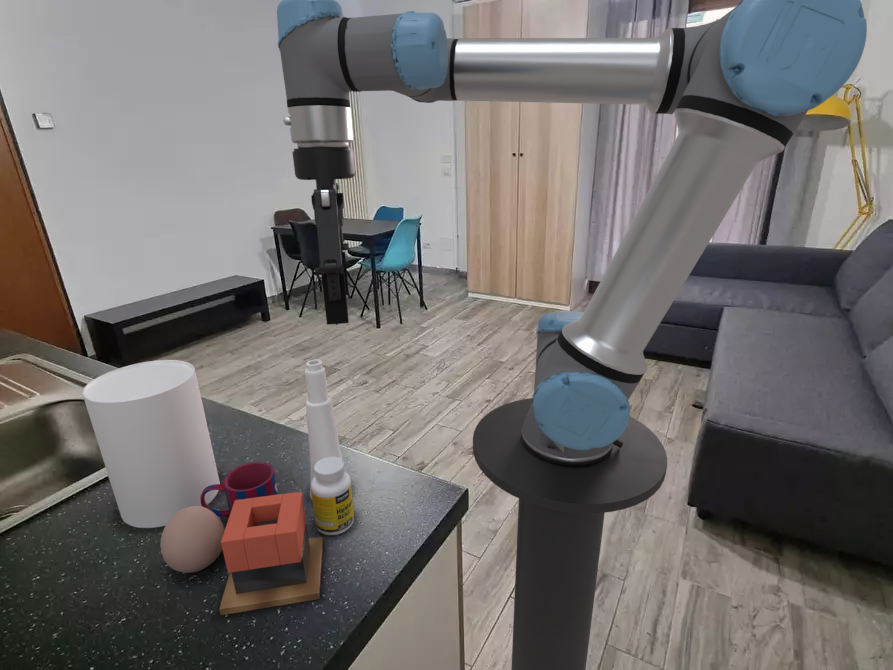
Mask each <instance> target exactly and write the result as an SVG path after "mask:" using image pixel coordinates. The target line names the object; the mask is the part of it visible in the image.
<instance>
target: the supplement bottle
mask: <svg viewBox="0 0 893 670" xmlns="http://www.w3.org/2000/svg"><path fill="white" fill-rule="evenodd" d="M314 473H315V477H314V478H313V480H312V482H311V481H310V484H311V494H312V499H311V500H312V509H313V517H314V524H315V527H316V530H317V531H318V532H319V533H320V534H323V535H325V536H337V535H340V534H344V533H345V532H346V531H348V530H349V529H350V528H351V527H352V526H353V524H354V522H355V513H354V500H353V489H352V488H353V487H352V480H351V476H350V474H349V473H348V472H347V471H346V468H345V462H344V460H343V458H342V459H341V458H338V457H326V458H323V459H321V460H319V461H318V462H317V463H316V464H315V465H314Z"/></svg>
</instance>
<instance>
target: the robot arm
mask: <svg viewBox="0 0 893 670" xmlns="http://www.w3.org/2000/svg"><path fill="white" fill-rule="evenodd" d="M276 19H277V21H276V22H277V35H278V36H277V37H278V40H277V48H278V51H279V53H280V58H281V59H280V60H281V68H282V75H283V83H284V87H285V96H286V107H287V113H288V114H289V116H285V117H283V124H284V125H285V126H290V127H289V132H290V141H291V143H293V144H296V146H297V148H293V151H292V160H293V168H294V177H296V179H298V180H301V181H315V184H316V185H315V187H316V188H315V189H313V192H312V195H311V199H310V200H311V205H312V210H313V216H314V223H315V227H316V231H317V244H318V245H317V246H318V257H319V265H318V267H314V274H315V276H321V282H322V283H321V285H322V293H323V301H324V302H323V303H324V311H325V320H326V325H327V326H328V325H339V324H340V325H341V324H349V323H350V321H349V311H348V300H347V295H348V296H349V295H350V292H349V280H348V269H347V259H346V258H347V257H346V251H350V246H349V245H350V244H349V242H345V238H344V234H343V233H344V232H343V226H344V218H345V217H344V208H345V199H344V198H345V197H344V192H339V190H340V185H339V184H338V182H337V180H347V179H353V178H354V177H356V164H355V163H356V162H355V152H354V150H353V148H352V147H349V144H350V143H352V142H353V141H354V134H353V133H354V132H353V122H352V109H351V104H350V103H351V102H350V92H352V93H353V92H354V93H358V92H359V93H360V92H389V91H390V92H395V93H397V94H400V95H403V96H405V97H408V98H409V99H412V101H415V102H418V103H424V104H425V103H426V104H432V103H436V102H438V101H439V102H454V101H456V102H457V101H462V102H503V103H504V102H505V103H506V102H508V103H547V104H548V103H553V104H591V105H592V104H594V105H596V104H597V105H599V104H600V105H638V106H644V107H646V109H647V110H648V111H649V113H650V114H653V115H654V114H656V115H658V114H660V115H674V119H675V123H676V127H677V136H676V138H675V140H674V142H673V143H672V145H671V147H670V149H669V151H668V153H667V155H666V156H665V159H664V161H663V162H662V164H661V166H660V168H659V170H658V172H657V174H656V176H655V178H654V180H653V181H652V183H651V186H650V187H649V189H648V191H647V193H646V195H645V196H644V199H643V200H642V201H641V204H640V206H639V208H638V210H637V211H636V213H635V216H634V217H633V219H632V221H631V223H630V225H629V227H628V229H627V230H626V233H625V234H624V236H623V238H622V240H621V242H620V244H619V246H618V248H617V250H616V251H615V253H614V255H613V257H612V259H611V261H610V263H609V264H608V267H607V269H606V270H605V272H604V274H603V276H602V278H601V280H600V282H599V283H598V285H597V287H596V289H595V291H594V293H593V295H592V297H591V299H590V300H589V302H588V304H587V306H586V308H585V310H584V311H571V310H570V311H569V310H568V311H553V312H548V313H545V314H542V315H541V316H540V317H539V319H538V323H537V329H536V334H537V335H536V338H537V339H536V354H535V358H536V359H535V370H534V386H533V393H532V397H531V398H532V405H531V407H530V409H529V412H528V414H527V416H526V419H525V421H524V423H523V426H522V443H523V445H524V447H525V448H526V449H527V450H528V451H529V452H530V453H531V454H532V455H534V456H535V457H537V458H538V459H540V460H543V461H545V462H547V463H550V464H554V465H558V466H563V467H588V466H593V465H596V464H599V463H601V462H603V461H604V460H606V459H607V458H608V457H609V456H610V454H611V452H612V447H613V444H614V445H616V446H618V447H620V448H621V447H622V446H623V442H621V441H619V440H617V439H618V438H619V437H620V436H621V435H622V434H623V432H624V431H625V429H626V427H627V425H628V422H629V417H630V416H631V415H630V414H631V404H630V402H629V401H630V398H631V396H632V395H633V393H634V392H635V390H636V388H637V387H638V385H639V384H640V382H641V380H642V379H643V377H644V376H645V374H646V373H647V370H648V364H647V362H646V359H645V355H644V351H645V349H646V347H647V345H649V343H650V341H651V339H652V337H653V336H654V334H655V333H656V331H657V329H658V327H659V326H660V324H661V323H662V322H663V319H664V317H665V316H666V314H667V312H668V311H669V310H670V307H671V306H672V304H673V302H675V299H676V298H677V296H678V295H679V293H680V291H681V290H682V288H683V286H684V284H685V283H686V281H687V280H688V278H689V276H690V275H691V274H692V271H693V270H694V268H695V266H696V265H697V263H698V262H699V259H700V258H701V256H703V253H704V252H705V250H706V248H707V246H708V245H709V243H710V242H711V240H712V238H713V237H714V235H715V234H716V231H717V230H718V228H719V227H720V225H721V223H723V222H722V221H724V219H725V217H726V215H727V214H728V212H729V211H730V209H731V207H732V205H733V204H734V202H735V201H736V199H737V197H738V196H739V194H740V193H741V191H742V189H743V187H744V186H745V184H746V182H747V181H748V179H749V178H750V175H751V174H752V173H753V171H754V170H755V167H756V166H757V164H758V163H760V162H761V161H763V160H765V159H768V158H770V157H773V156H776V155H778V154H781V153H782V152H783V151H784V150H785V149H786V146H787V145H788V143H790V141H791V139H792V138H793V136H794V134H795V133H796V131H797V129H798V128H799V126H800V124H801V123H802V121H803V120H804V118H805V116H806V115H807V113H808V111H811V110H813V109H815V108H817V107H820V105H822V104H824V103H825V102H826V101H827V100H829V99H830V98H831V97H832V96H834V95H835V94H836V93H838V91H839V90H841V88H842V87H843V86H844V85H846V83H847V82H848V80H849V79H850V78H851V77H852V75H853V74H854V72H855V70H856V69H857V67H858V65H859V63H860V62H861V58H862V56H863V53H864V50H865V46H866V42H867V34H868V33H867V32H868V27H867V26H868V23H867V18H866V17H865V12H864V8H863V3H862V1H861V0H740V1H739V3H738V4H737V5H736V6H735V7H734V8H732V9H731V10H730V11H728V12H727V13H725V14H724V15H723V16H722V17H720V18H719V19H716V20H714V21H711V22H707V23H703V24H700V25H697V26H696V25H695V26H690V27H667V28H666V29H665V30H663V31H662V33H660V34H659V35H658V36H656V37H497V38H496V37H491V38H490V37H487V38H486V37H485V38H484V37H482V38H481V37H480V38H479V37H477V38H476V37H474V38H473V37H471V38H470V37H469V38H468V37H467V38H466V37H465V38H462V37H461V38H460V37H459V38H448V37H447V31H446V29H445V24H444V23H445V22H444V21H443V19H442V18H441V16H440V15H439V14H437V13H435V12H415V11H412V10H410V11H409V10H408V11H407V10H406V11H405V12H402V13H393V14H392V13H391V14H380V15H369V16H367V15H366V16H358V17H357V16H355V17H346V16H344V15H343V8H342V6H341V4H340V3H339V2H338V1H337V0H280V1H279V3H278V5H277V8H276Z"/></svg>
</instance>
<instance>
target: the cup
mask: <svg viewBox="0 0 893 670" xmlns="http://www.w3.org/2000/svg"><path fill="white" fill-rule="evenodd" d="M211 490H219V491H220V492H222V493H224V494H225V498H226V502H227V507H228V509H226V510H219V509H214V508H211V507H210V506H209V504H208V505H207V504H206V502H205V499H204V497H205V494H206V493H207V492H209V491H211ZM278 494H279V490H278V483H277V479H276V473H275V468H274V466H273V465H271V464H270V463H268V462H264V461H252V462H247V463H244V464H241V465H239V466H237V467H234V468H233V469H231V470H230V471H229V472H228V473H227V474H226V475H225V476H224V479H223V483H220V484H215V485H210V486H207V487H206V488H205V489H204V490H203V491H202V493H201V497H200V500H201V506H202V507H205V508H207V509H209V510H211V511H212V512H213V513H215V514H216V515H217V516H218V517H219V518H229V516H230V513H231V510H232V507H233V504H234V501H235V500H241V499H249V498H255V497H263V496H271V495H278Z"/></svg>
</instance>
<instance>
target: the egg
mask: <svg viewBox="0 0 893 670" xmlns="http://www.w3.org/2000/svg"><path fill="white" fill-rule="evenodd" d="M224 531H225V527H224V524H223V522H222V520H221V517H218V516H217V515H216V514H215V513H213V512H212V511H211V510H209V509H207V508H205V507H202V506H190V507H186V508H184V509H182V510H179V511H178V512H177V513H176V514H174V515H173V516H172V517H171V518H170V519H169V521H168V523H167V524H166V526H164V528H163V531H162V533H161V536H160V545H159V547H160V553H161V556H162V558H163V561H164V562H165V563H166V565H167V566H168V567H169V568H171V569H172V570H174V571H176V572H179V573H184V574H190V573H197V572H199V571H202V570H205V569H206V568H208V567H209V566H210V565H212V564H213V563H214V562H215V561H216V560H217V558H218V557H219V556H220V554H221V553H222V552H223V549H222V545H221V540H222V537H223V534H224Z"/></svg>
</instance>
